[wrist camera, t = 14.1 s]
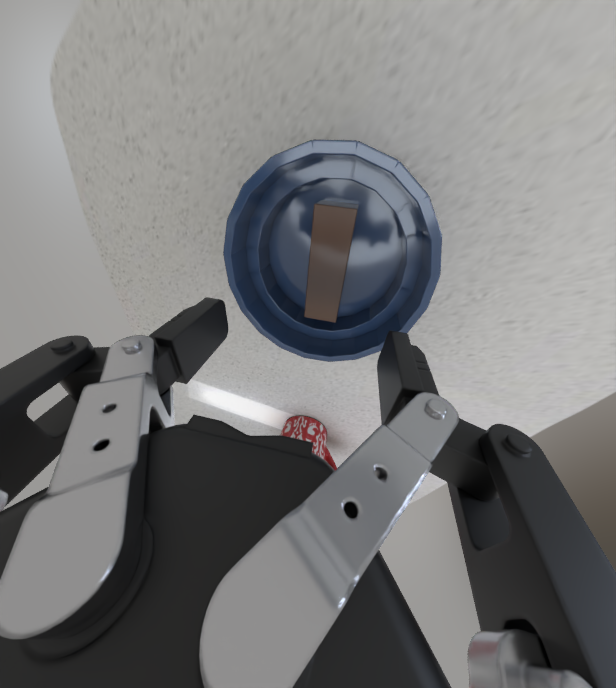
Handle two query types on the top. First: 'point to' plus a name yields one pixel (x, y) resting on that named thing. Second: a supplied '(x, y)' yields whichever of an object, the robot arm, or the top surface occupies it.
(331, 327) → the bowl
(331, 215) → the bar
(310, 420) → the mug
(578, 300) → the top surface
